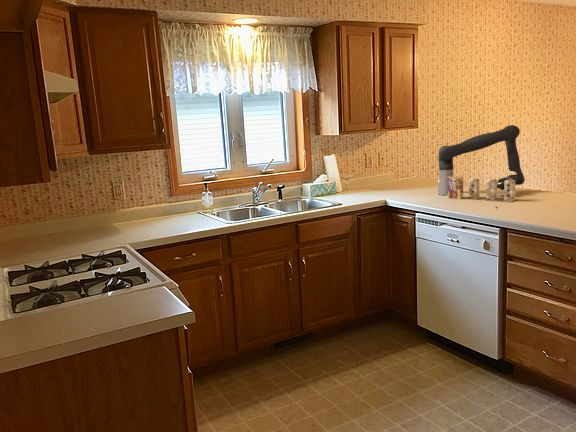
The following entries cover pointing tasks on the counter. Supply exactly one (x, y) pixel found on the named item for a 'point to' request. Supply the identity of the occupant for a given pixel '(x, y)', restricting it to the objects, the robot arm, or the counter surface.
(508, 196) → the dotted block right
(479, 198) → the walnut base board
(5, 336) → the counter surface
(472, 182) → the dotted block left
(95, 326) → the counter surface
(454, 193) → the candy box
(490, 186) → the plain birch block
